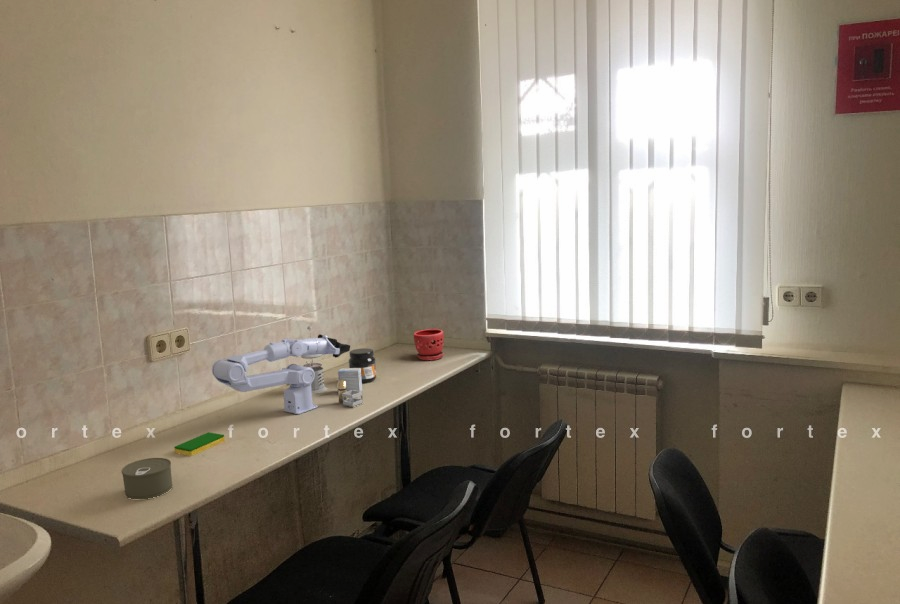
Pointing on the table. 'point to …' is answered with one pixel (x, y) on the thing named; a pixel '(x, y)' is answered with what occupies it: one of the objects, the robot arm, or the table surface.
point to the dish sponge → (199, 443)
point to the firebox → (352, 398)
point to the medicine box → (351, 378)
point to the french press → (317, 368)
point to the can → (147, 478)
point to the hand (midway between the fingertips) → (342, 345)
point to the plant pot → (429, 344)
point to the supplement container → (363, 363)
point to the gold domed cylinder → (341, 390)
